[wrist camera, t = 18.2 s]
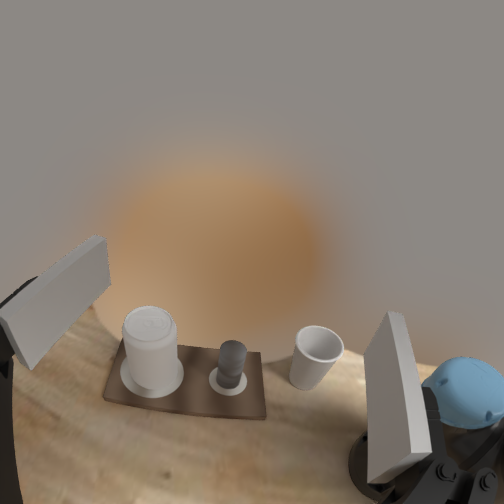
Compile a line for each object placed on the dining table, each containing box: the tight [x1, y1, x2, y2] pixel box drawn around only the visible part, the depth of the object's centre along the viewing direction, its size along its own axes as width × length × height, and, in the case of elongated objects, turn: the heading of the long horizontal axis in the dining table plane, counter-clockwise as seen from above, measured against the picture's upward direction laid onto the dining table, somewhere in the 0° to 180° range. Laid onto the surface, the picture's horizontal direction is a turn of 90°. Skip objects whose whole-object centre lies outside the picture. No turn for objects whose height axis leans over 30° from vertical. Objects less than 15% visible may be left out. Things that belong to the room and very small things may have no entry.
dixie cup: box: [289, 326, 344, 390], centre depth 48 cm, size 8×8×10 cm
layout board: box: [103, 338, 266, 420], centre depth 44 cm, size 26×14×9 cm, turn 92°
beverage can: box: [122, 306, 178, 390], centre depth 42 cm, size 8×8×12 cm
